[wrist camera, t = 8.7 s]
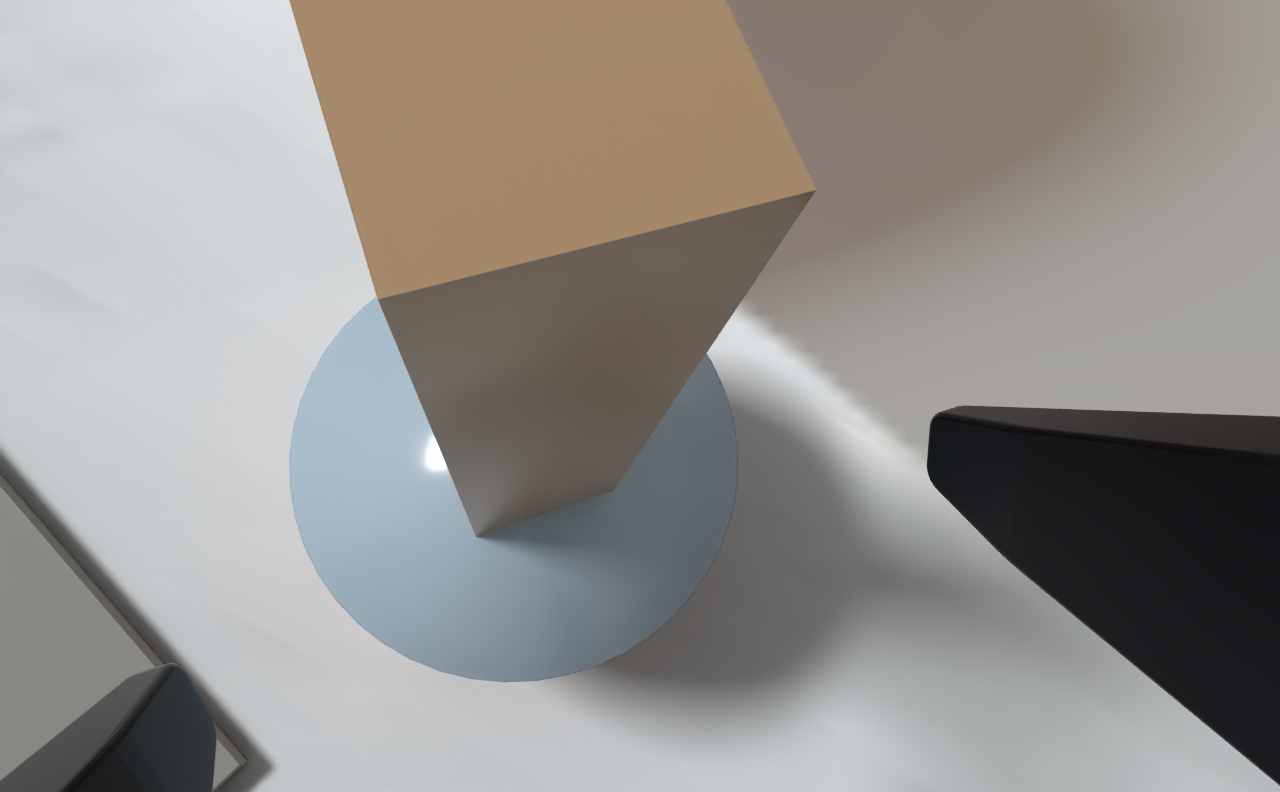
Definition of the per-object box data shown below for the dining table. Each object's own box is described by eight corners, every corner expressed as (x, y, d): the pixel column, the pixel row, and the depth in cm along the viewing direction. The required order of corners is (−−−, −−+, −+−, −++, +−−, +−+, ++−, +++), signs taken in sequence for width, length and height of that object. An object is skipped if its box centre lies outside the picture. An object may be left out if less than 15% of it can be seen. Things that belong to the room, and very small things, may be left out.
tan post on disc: (785, 586, 18) (1394, 475, 5) (366, 753, 15) (-253, 1244, 3) (643, 234, 20) (843, -399, 8) (260, 329, 18) (-329, -376, 5)
